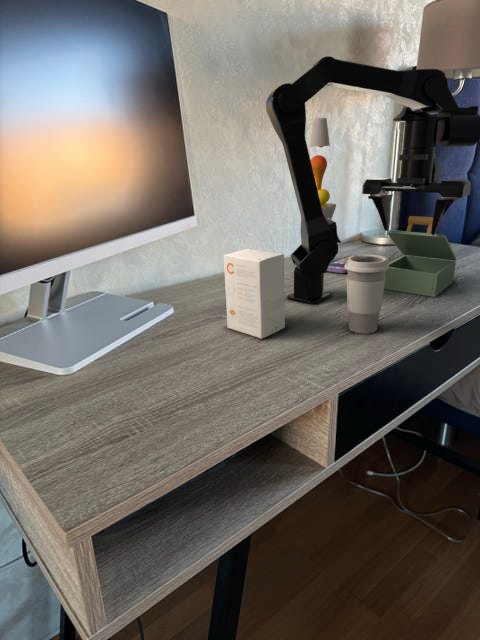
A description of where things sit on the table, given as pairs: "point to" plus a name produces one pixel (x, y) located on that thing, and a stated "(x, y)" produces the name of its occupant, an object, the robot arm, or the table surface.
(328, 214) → the lava lamp
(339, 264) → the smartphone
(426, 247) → the box lid
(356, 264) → the cup
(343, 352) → the table surface
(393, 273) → the desk box
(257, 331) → the small box
